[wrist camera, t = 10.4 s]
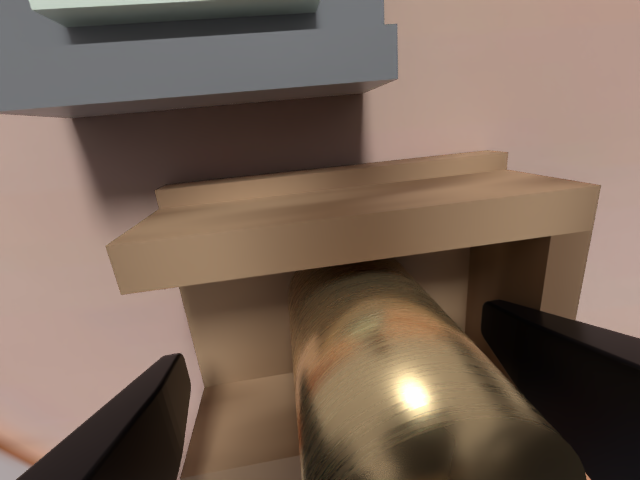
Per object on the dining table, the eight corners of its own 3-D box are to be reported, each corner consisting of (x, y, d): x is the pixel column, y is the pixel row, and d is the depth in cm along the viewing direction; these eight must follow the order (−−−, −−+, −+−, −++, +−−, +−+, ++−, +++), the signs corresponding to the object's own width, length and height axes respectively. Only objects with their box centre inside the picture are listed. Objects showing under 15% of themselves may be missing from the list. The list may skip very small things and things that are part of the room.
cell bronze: (405, 232, 10) (670, 440, 3) (405, 337, 11) (598, 644, 5) (280, 248, 10) (293, 518, 3) (294, 355, 11) (327, 715, 4)
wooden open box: (487, 150, 11) (605, 161, 7) (471, 356, 13) (551, 446, 9) (166, 184, 10) (97, 219, 6) (218, 399, 12) (193, 520, 8)
